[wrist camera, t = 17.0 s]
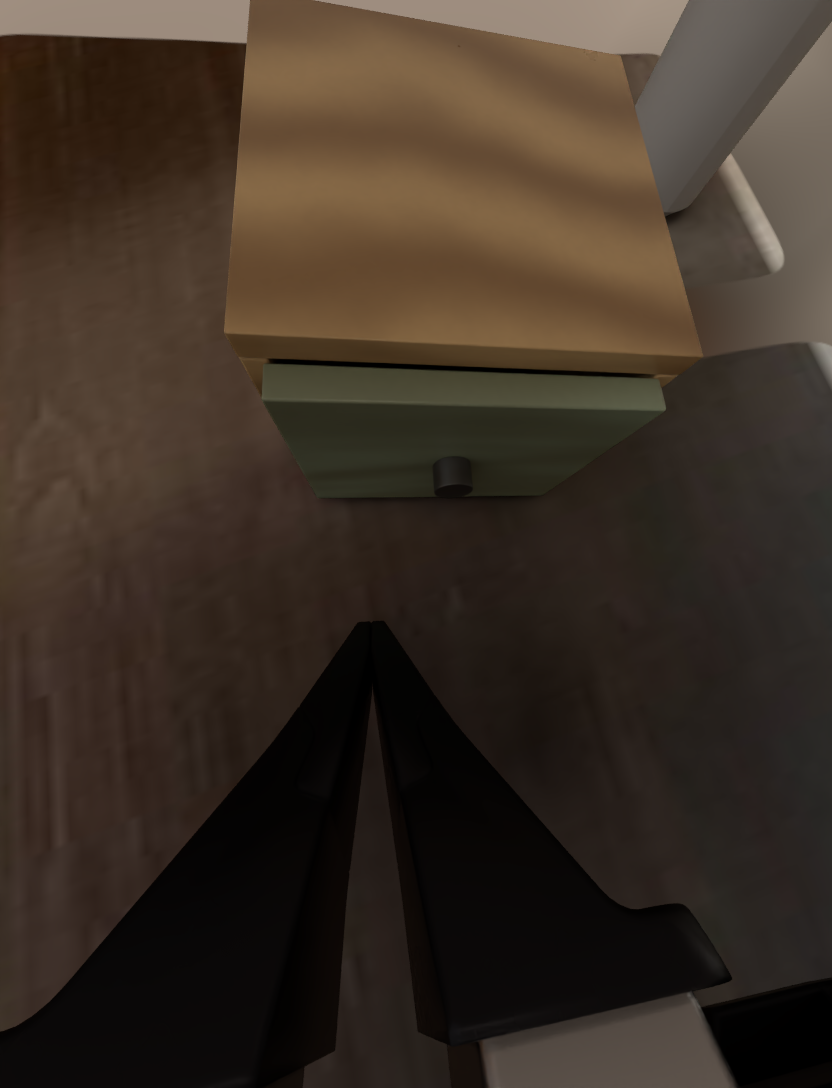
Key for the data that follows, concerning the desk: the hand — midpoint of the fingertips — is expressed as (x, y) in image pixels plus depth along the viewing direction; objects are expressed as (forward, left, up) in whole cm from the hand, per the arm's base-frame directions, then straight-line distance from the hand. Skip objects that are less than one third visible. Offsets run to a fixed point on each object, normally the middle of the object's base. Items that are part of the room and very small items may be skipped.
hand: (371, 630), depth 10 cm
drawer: (+10, -7, -5) cm, 14 cm away
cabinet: (+12, -8, -6) cm, 16 cm away
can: (+23, -33, -6) cm, 40 cm away
